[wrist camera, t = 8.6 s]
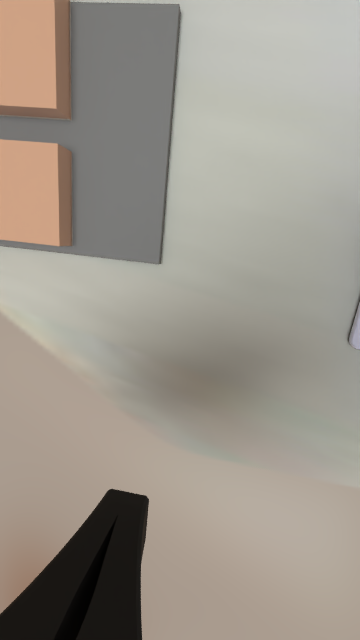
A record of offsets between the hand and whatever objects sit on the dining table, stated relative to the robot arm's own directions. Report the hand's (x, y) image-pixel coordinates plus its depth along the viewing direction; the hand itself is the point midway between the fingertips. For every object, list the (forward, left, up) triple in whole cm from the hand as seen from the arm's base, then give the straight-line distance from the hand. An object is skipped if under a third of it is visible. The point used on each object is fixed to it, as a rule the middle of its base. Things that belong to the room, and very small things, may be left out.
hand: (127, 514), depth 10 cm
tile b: (+7, -11, -9) cm, 15 cm away
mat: (+8, -14, -10) cm, 18 cm away
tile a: (+7, -17, -9) cm, 20 cm away
